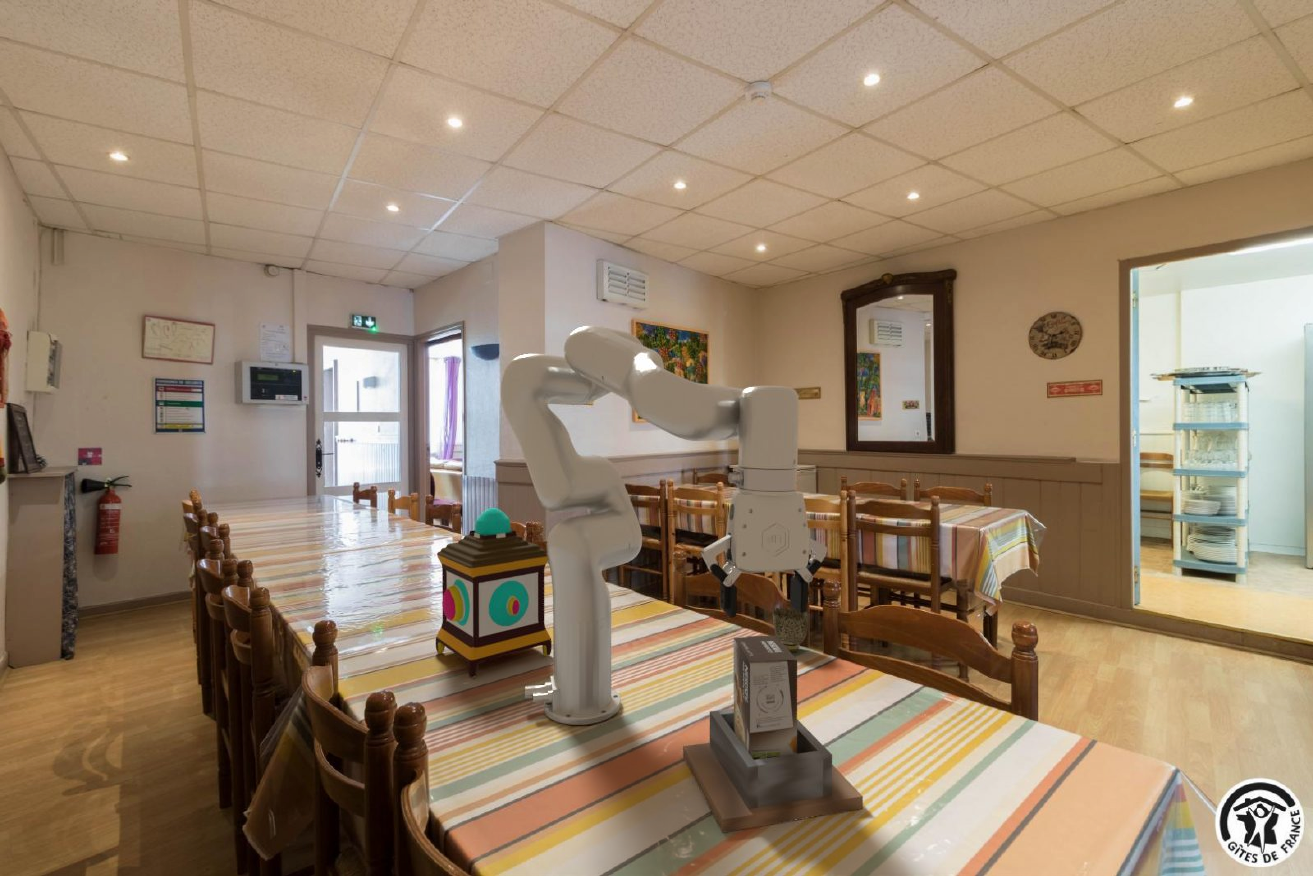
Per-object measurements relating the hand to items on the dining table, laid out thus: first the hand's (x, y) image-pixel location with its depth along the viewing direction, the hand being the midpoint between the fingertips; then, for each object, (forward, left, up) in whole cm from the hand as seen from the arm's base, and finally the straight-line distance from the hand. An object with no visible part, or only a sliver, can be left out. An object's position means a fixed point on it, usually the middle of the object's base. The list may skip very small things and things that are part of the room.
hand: (764, 611), depth 77 cm
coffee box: (0, 0, -21) cm, 21 cm away
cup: (+24, +41, -22) cm, 52 cm away
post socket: (0, 0, -22) cm, 22 cm away
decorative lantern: (-36, +53, -22) cm, 67 cm away
